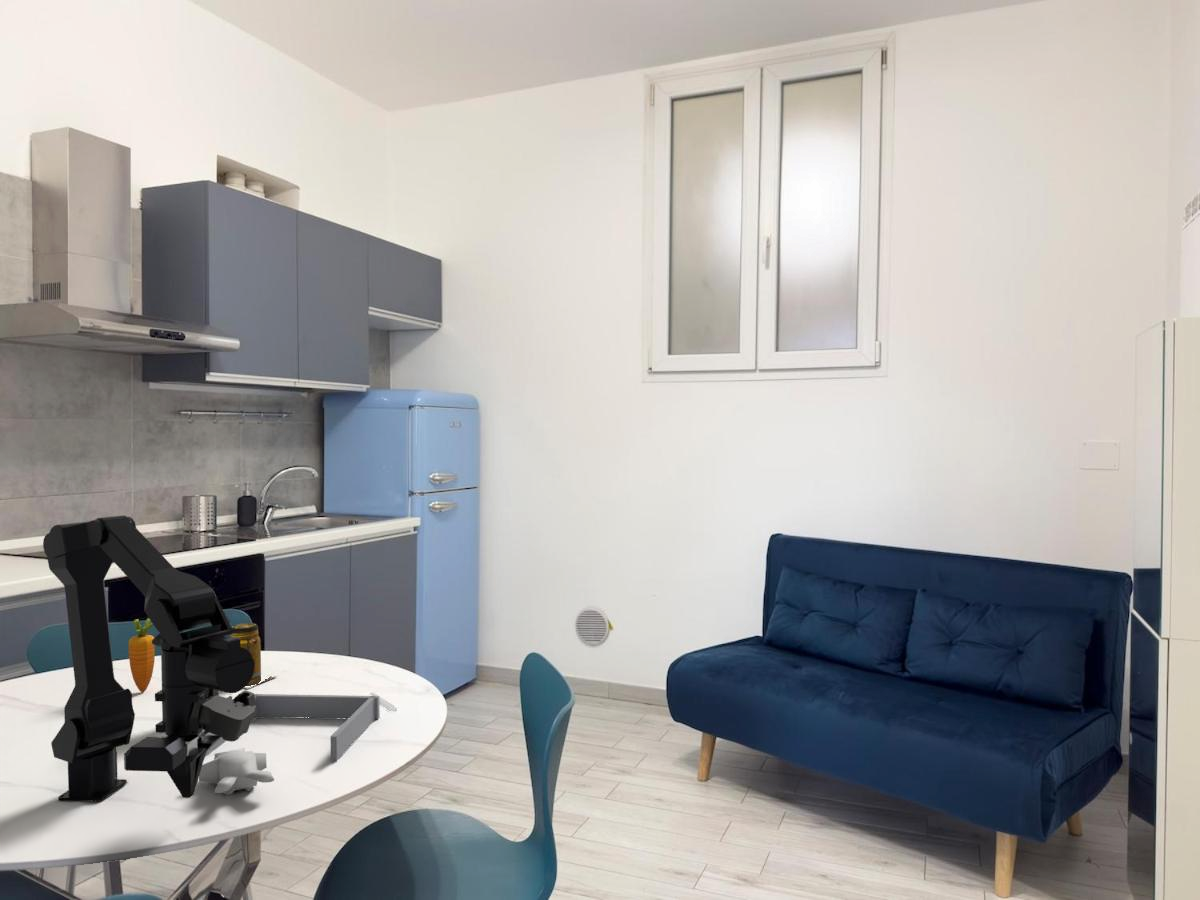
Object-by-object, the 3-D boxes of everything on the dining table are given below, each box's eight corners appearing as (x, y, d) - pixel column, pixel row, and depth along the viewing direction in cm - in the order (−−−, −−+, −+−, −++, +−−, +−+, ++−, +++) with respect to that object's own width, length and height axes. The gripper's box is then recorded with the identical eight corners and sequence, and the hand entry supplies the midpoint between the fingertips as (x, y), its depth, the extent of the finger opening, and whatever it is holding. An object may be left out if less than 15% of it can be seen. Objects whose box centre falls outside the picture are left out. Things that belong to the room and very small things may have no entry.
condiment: (220, 685, 176) (218, 627, 175) (250, 674, 184) (249, 618, 183) (248, 689, 173) (247, 630, 173) (277, 677, 181) (276, 621, 181)
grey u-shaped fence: (340, 761, 137) (339, 736, 136) (193, 758, 138) (193, 733, 138) (379, 717, 157) (379, 696, 156) (251, 715, 158) (251, 693, 158)
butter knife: (383, 712, 159) (399, 708, 160) (342, 677, 182) (356, 674, 183) (384, 715, 159) (399, 711, 160) (342, 680, 182) (356, 676, 183)
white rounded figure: (259, 738, 136) (280, 758, 124) (260, 771, 136) (281, 794, 123) (193, 750, 131) (209, 773, 118) (194, 785, 131) (210, 811, 118)
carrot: (150, 686, 175) (148, 613, 175) (161, 691, 172) (159, 617, 171) (124, 692, 171) (122, 618, 171) (135, 698, 168) (133, 622, 168)
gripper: (208, 705, 104) (211, 832, 104) (276, 661, 122) (277, 769, 123) (119, 703, 105) (122, 829, 105) (200, 660, 123) (202, 767, 124)
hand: (188, 796), depth 114 cm, fingers closed
